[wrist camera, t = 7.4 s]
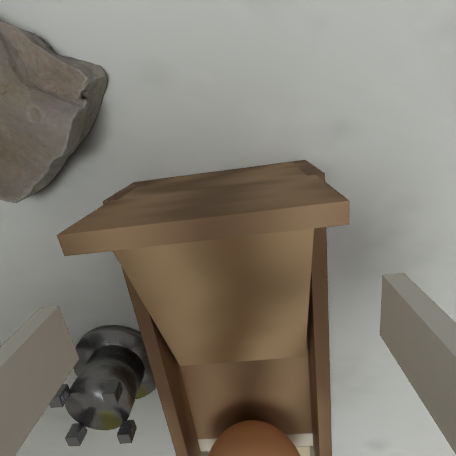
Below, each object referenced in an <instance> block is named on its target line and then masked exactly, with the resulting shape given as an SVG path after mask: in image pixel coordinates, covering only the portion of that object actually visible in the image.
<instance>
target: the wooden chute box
mask: <svg viewBox="0 0 456 456" xmlns="http://www.w3.org/2000/svg"><path fill="white" fill-rule="evenodd" d="M348 224H349V200H348V199H346V198H345V197H344V196H343V195H341V194H340V193H339V192H338V191H336V190H335V189H334V188H332V187H331V186H330V185H329V184H327V183H326V182H325V173H323V172H322V171H320V170H319V169H317V168H316V167H315V166H313V165H312V164H310V163H309V162H307V161H306V160H301V161H293V162H286V163H278V164H270V165H263V166H255V167H247V168H240V169H232V170H225V171H217V172H209V173H202V174H194V175H186V176H179V177H171V178H164V179H156V180H148V181H141V182H134V183H132V184H130V185H129V186H127V187H126V188H124V189H122V190H121V191H119V192H117V193H116V194H114V195H113V196H111V197H109V198H108V199H106V200H104V201H103V206H101V207H100V208H98V209H97V210H95V211H94V212H92V213H91V214H89V215H87V216H86V217H84V218H83V219H81V220H80V221H78V222H77V223H75V224H74V225H72V226H70V227H69V228H67V229H66V230H64V231H63V232H61V233H60V234H58V235H57V237H58V239H59V242H60V245H61V248H62V251H63V253H64V256H70V255H79V254H88V253H97V252H106V251H113V252H114V254H115V256H116V257H117V259H118V261H119V263H120V264H121V266H122V270H123V273H124V277H125V280H126V284H127V287H128V290H129V294H130V297H131V301H132V304H133V308H134V311H135V315H136V318H137V321H138V325H139V328H140V332H141V335H142V339H143V342H144V345H145V349H146V352H147V356H148V359H149V363H150V366H151V370H152V373H153V376H154V380H155V383H156V387H157V390H158V394H159V397H160V400H161V404H162V407H163V411H164V414H165V418H166V421H167V425H168V428H169V431H170V435H171V438H172V442H173V445H174V449H175V452H176V456H200V455H201V452H208V451H210V450H211V447H212V446H213V444H214V442H215V441H216V440H217V439H218V437H219V436H220V435H221V434H222V433H223V432H224V431H225V430H226V429H228V428H229V427H231V426H232V425H234V424H236V423H239V422H242V421H247V420H257V421H263V422H266V423H269V424H271V425H273V426H275V427H276V428H278V429H279V430H281V431H282V432H283V433H284V434H285V435H286V436H287V437H288V438H289V439H290V440H291V441H292V442H293V444H294V445H295V447H308V446H313V448H314V453H315V456H332V440H331V400H330V361H329V321H328V282H327V242H326V227H330V226H339V225H348Z"/></svg>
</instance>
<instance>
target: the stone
mask: <svg viewBox="0 0 456 456" xmlns="http://www.w3.org/2000/svg"><path fill="white" fill-rule="evenodd" d="M106 87H107V75H106V73H105V71H104V69H103V68H102V67H101V66H99V65H94V64H92V63H89V62H86V61H82V60H77V59H75V58H72V57H65V56H61V55H58V54H56V53H54V52H53V51H52V50H51V48H50V46H49V45H48V44H47V43H46V42H44V41H43V40H42V39H40V38H39V37H38V36H37V35H36V34H35V33H30V32H27V31H24V30H21V29H18V28H16V27H14V26H12V25H10V24H8V23H5V22H2V21H0V199H1V200H4V201H8V202H13V203H17V202H19V201H21V200H23V199H25V198H27V197H29V196H30V195H32V194H34V193H36V192H37V191H39V190H41V189H42V188H44V187H46V186H47V185H48V184H49V182H50V181H51V180H53V179H54V177H55V176H56V174H57V173H58V172H59V171H60V170H61V168H62V167H63V165H64V163H65V162H66V160H67V159H68V156H69V155H71V154H72V153H73V152H74V151H75V150H76V148H77V147H78V145H79V143H80V142H81V141H82V140H83V139H84V138H85V136H86V135H87V134H88V133H89V131H90V129H91V127H92V124H93V122H94V120H95V118H96V116H97V113H98V111H99V108H100V106H101V101H102V97H103V95H104V92H105V90H106Z"/></svg>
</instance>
